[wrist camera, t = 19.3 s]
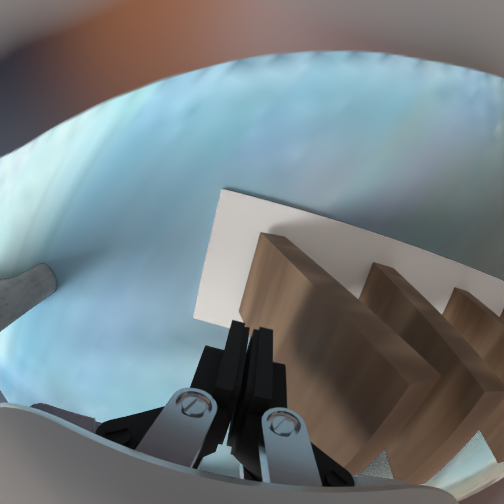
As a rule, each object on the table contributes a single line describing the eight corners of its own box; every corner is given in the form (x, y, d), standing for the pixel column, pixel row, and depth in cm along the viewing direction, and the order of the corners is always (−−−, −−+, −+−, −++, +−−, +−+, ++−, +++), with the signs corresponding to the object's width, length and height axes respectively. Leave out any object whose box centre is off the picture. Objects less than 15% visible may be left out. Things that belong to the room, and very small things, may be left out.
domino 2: (393, 268, 20) (509, 390, 6) (363, 336, 22) (424, 483, 8) (373, 261, 20) (485, 391, 6) (343, 332, 21) (396, 487, 8)
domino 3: (467, 291, 20) (569, 383, 6) (438, 349, 22) (511, 458, 8) (454, 287, 20) (561, 384, 6) (424, 347, 22) (498, 463, 8)
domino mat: (521, 371, 23) (523, 372, 22) (194, 315, 22) (193, 317, 22) (556, 304, 20) (557, 305, 19) (222, 188, 19) (221, 189, 19)
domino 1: (284, 236, 20) (441, 375, 7) (261, 313, 21) (358, 475, 9) (260, 231, 19) (409, 384, 7) (238, 311, 21) (324, 486, 8)
